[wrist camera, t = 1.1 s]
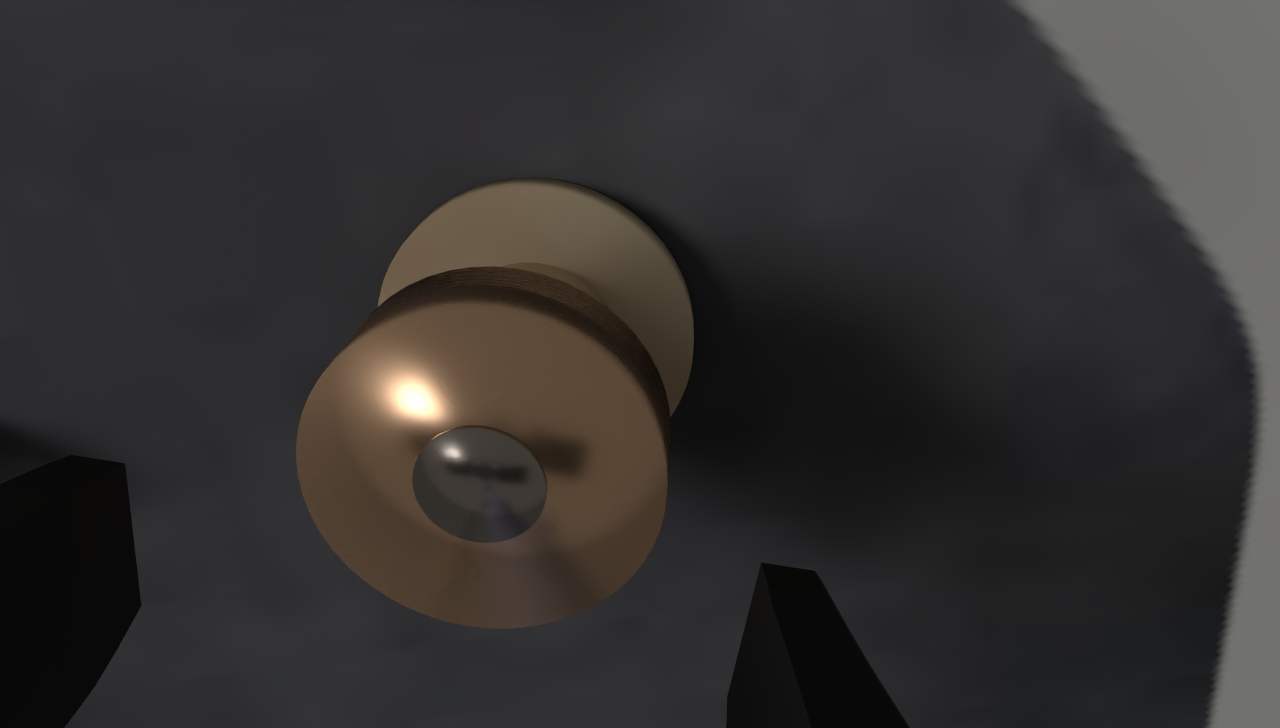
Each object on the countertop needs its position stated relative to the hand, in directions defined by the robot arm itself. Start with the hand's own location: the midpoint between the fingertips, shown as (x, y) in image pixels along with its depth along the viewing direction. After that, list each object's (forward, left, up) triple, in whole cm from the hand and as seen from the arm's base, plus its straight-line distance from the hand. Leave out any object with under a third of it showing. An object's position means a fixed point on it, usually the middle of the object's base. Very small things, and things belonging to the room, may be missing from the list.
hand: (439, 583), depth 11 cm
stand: (0, 0, -7) cm, 7 cm away
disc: (0, 0, -4) cm, 4 cm away
